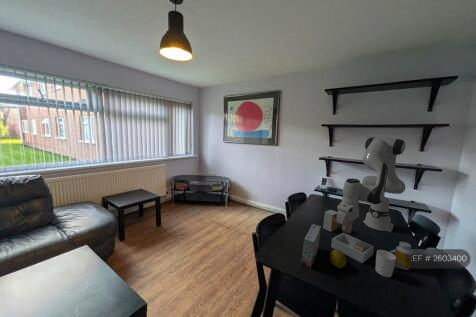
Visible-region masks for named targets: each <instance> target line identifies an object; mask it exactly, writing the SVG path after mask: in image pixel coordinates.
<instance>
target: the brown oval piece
mask: <svg viewBox="0 0 476 317" xmlns="http://www.w3.org/2000/svg"><path fill="white" fill-rule="evenodd" d="M352 222H353V223H354V221H350V222H348V223H347V224H346V226H347V229H343V228H342V227H343V226H341V231H342V233H345V234H352V229H353V223H352Z"/></svg>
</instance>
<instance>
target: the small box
mask: <svg viewBox="0 0 476 317" xmlns="http://www.w3.org/2000/svg"><path fill="white" fill-rule="evenodd" d="M337 212H338V211H336V210H332V209H329V210H327V211H324V217H323V227H322V229H323V230H326V231H328V232H330V233H331V232H334V231H336V230H337V229H338V224H339V223H337Z"/></svg>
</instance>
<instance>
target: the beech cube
mask: <svg viewBox="0 0 476 317" xmlns="http://www.w3.org/2000/svg"><path fill="white" fill-rule="evenodd" d="M353 248H354V249H356V250H358V251H360V252H362V253H363V252H364V251H366V246H364V245H362V244H360V243H355V244H354V245H353Z"/></svg>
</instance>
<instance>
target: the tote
mask: <svg viewBox="0 0 476 317" xmlns="http://www.w3.org/2000/svg"><path fill="white" fill-rule="evenodd" d="M355 243H360V244H362V245H364V246H366V251H364V252H363V253H362V252H360V251H358V250H356V249H354V248H353V245H354V244H355ZM330 248H331V249H333V250H335V249H336V250H340V251H341V252H343V254H344V255H345V256H347V257H349V258H351V259H353V260H355V261H357V262H358V263H360V264H363V263H365V262H366V261H367V260H369V259H370V258H371V257H373V255H374V248H375V245H373V244H370V243H368V242H366V241H363V240H360V239H358V238H356V237H354V236H351V235H350V234H348V233H346V232H342V233H339V234H338V235H336V236H334V237H333V238H331V244H330Z"/></svg>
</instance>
